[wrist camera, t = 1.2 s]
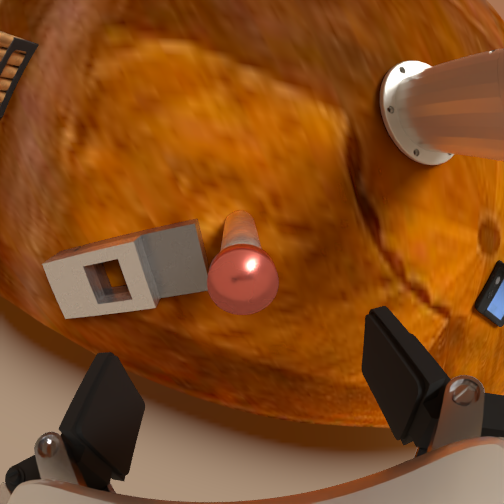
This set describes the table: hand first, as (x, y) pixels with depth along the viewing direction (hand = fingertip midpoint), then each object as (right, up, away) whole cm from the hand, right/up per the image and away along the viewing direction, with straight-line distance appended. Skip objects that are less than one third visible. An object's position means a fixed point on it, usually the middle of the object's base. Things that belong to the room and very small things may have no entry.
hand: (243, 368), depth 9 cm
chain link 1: (-16, +2, +19) cm, 25 cm away
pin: (-1, +7, +19) cm, 20 cm away
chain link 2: (-11, +3, +19) cm, 23 cm away
